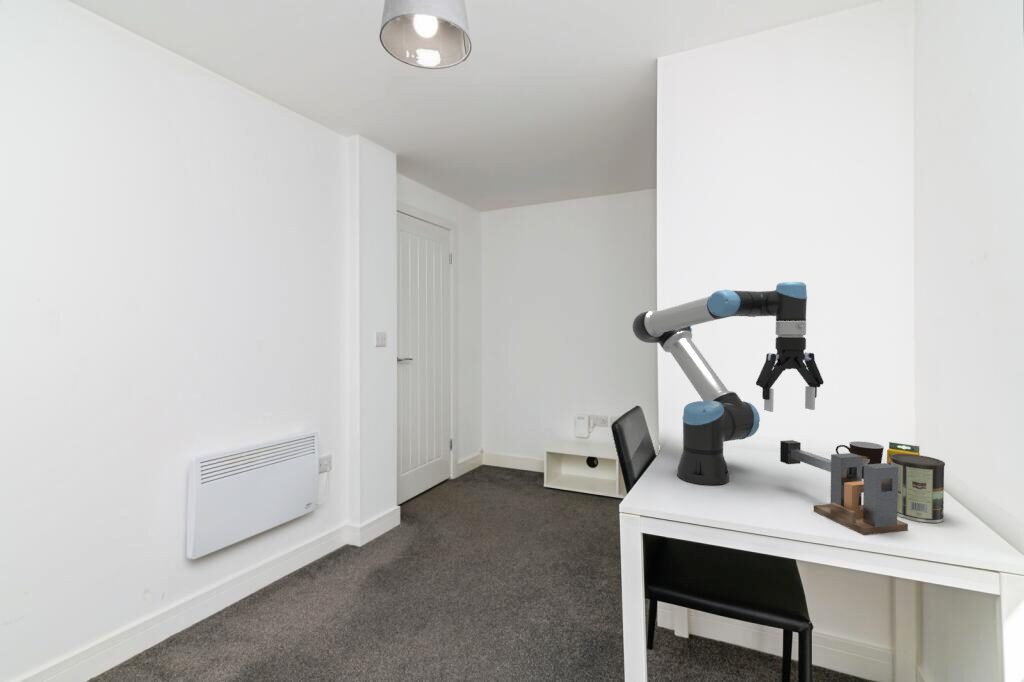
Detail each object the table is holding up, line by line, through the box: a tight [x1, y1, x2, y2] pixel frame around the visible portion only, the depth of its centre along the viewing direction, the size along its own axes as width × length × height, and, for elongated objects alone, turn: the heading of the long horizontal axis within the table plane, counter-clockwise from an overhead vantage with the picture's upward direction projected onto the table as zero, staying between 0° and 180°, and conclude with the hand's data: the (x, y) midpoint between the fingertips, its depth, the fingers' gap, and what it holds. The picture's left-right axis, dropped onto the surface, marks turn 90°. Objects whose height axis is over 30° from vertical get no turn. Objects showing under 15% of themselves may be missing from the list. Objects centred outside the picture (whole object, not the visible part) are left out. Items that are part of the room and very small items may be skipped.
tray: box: [813, 503, 909, 536], centre depth 115 cm, size 14×12×4 cm
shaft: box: [779, 439, 849, 475], centre depth 128 cm, size 20×4×6 cm, turn 11°
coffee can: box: [891, 454, 946, 524], centre depth 118 cm, size 10×10×14 cm
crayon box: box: [886, 441, 921, 465], centre depth 141 cm, size 7×3×12 cm, turn 43°
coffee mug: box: [835, 440, 885, 480], centre depth 149 cm, size 12×9×10 cm
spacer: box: [844, 480, 864, 518], centre depth 114 cm, size 2×8×8 cm, turn 103°
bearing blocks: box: [829, 452, 898, 527], centre depth 114 cm, size 12×6×14 cm, turn 11°
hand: (789, 410), depth 136 cm, fingers open, 13 cm apart
